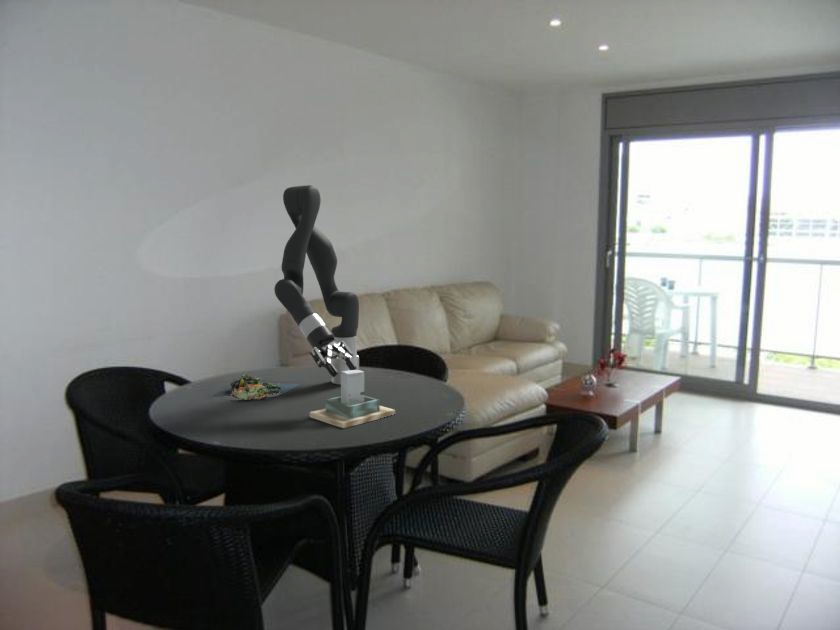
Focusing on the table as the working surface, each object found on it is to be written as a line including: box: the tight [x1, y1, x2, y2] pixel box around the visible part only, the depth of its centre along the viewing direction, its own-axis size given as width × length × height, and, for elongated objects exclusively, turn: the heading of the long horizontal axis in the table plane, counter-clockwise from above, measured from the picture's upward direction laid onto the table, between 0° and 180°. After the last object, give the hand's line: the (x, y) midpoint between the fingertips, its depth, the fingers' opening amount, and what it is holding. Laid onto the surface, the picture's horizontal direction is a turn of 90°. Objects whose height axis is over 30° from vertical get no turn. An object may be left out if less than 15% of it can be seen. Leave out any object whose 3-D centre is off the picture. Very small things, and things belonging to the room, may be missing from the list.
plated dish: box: [211, 373, 301, 401], centre depth 228 cm, size 35×28×7 cm
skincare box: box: [340, 369, 365, 406], centre depth 199 cm, size 6×4×12 cm
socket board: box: [309, 395, 396, 429], centre depth 200 cm, size 20×16×5 cm
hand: (345, 372), depth 200 cm, fingers open, 8 cm apart
